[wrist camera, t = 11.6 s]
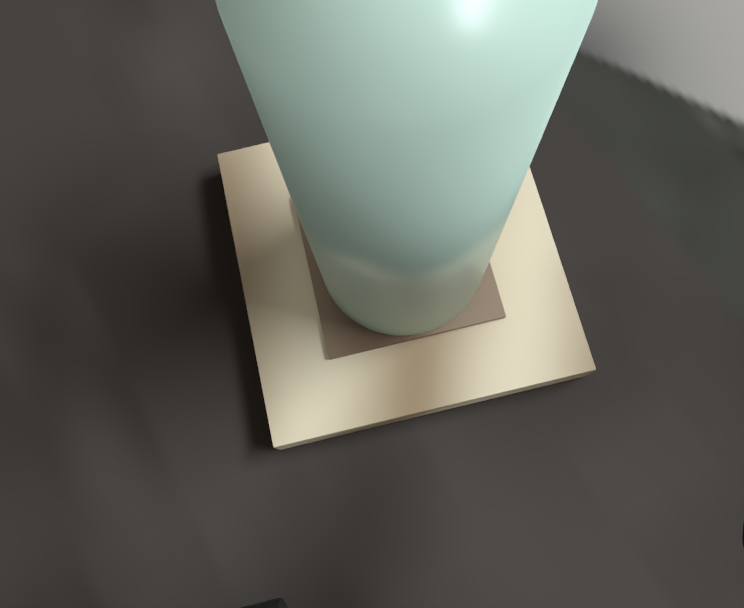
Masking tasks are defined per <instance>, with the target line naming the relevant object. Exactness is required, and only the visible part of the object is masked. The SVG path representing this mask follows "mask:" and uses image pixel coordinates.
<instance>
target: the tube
mask: <svg viewBox="0 0 744 608" xmlns="http://www.w3.org/2000/svg"><path fill="white" fill-rule="evenodd" d="M215 1H216V4H217V8H218V11H219V14H220V17H221V20H222V22H223V25H224V27H225V30H226V32H227V35H228V37H229V40H230V43H231V45H232V48H233V50H234V53H235V55H236V58H237V61H238V63H239V66H240V68H241V71H242V73H243V76H244V78H245V81H246V84H247V86H248V89H249V91H250V94H251V96H252V99H253V101H254V104H255V107H256V109H257V112H258V114H259V117H260V119H261V122H262V124H263V127H264V130H265V132H266V135H267V137H268V140H269V142H270V145H271V148H272V150H273V153H274V155H275V158H276V160H277V163H278V165H279V168H280V171H281V173H282V176H283V178H284V181H285V183H286V186H287V188H288V191H289V194H290V196H291V199H292V201H293V204H294V206H295V209H296V212H297V214H298V217H299V219H300V222H301V224H302V227H303V229H304V232H305V235H306V237H307V240H308V242H309V245H310V247H311V250H312V252H313V255H314V258H315V260H316V263H317V265H318V268H319V270H320V273H321V276H322V278H323V281H324V283H325V286H326V288H327V290H328V292H329V294H330V296H331V297H332V299H333V300H334V302H335V303H336V305H337V306H338V307H339V308H340V309H341V310H342V312H344V313H345V314H346V315H347V316H348V317H349V318H350V319H352V320H353V321H355V322H356V323H358V324H359V325H361V326H363V327H365V328H367V329H369V330H372V331H375V332H378V333H382V334H386V335H393V336H412V335H418V334H423V333H426V332H430V331H433V330H435V329H437V328H439V327H442V326H444V325H445V324H447V323H448V322H450V321H451V320H453V319H454V318H455V317H456V316H458V315H459V314H460V313H461V312H462V311H463V310H464V309H465V308H466V307H467V306H468V304H469V303H470V301H471V300H472V298H473V297H474V295H475V293H476V291H477V289H478V287H479V285H480V283H481V280H482V278H483V276H484V273H485V271H486V268H487V266H488V264H489V261H490V259H491V257H492V254H493V252H494V249H495V247H496V245H497V242H498V240H499V237H500V235H501V233H502V230H503V228H504V226H505V223H506V221H507V218H508V216H509V214H510V211H511V209H512V206H513V204H514V202H515V199H516V197H517V195H518V192H519V190H520V187H521V185H522V183H523V180H524V178H525V175H526V173H527V171H528V168H529V166H530V164H531V161H532V159H533V156H534V154H535V152H536V149H537V147H538V145H539V142H540V140H541V137H542V135H543V133H544V130H545V128H546V125H547V123H548V121H549V118H550V116H551V114H552V111H553V109H554V106H555V104H556V102H557V99H558V97H559V94H560V92H561V90H562V87H563V85H564V83H565V80H566V78H567V75H568V73H569V71H570V68H571V66H572V63H573V61H574V59H575V56H576V54H577V52H578V49H579V47H580V44H581V42H582V39H583V37H584V35H585V32H586V30H587V28H588V25H589V23H590V21H591V18H592V16H593V13H594V11H595V8H596V5H597V1H598V0H215Z"/></svg>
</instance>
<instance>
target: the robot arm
mask: <svg viewBox="0 0 744 608" xmlns="http://www.w3.org/2000/svg"><path fill="white" fill-rule="evenodd" d="M743 546H744V525H743ZM242 608H287V605H286V603H285V601H284V599H283V598H277V599H273V600H269V601H265V602H261V603H257V604H254V605H250V606H246V607H242Z"/></svg>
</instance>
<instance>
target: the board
mask: <svg viewBox="0 0 744 608" xmlns="http://www.w3.org/2000/svg"><path fill="white" fill-rule="evenodd" d="M217 155H218V160H219V165H220V170H221V176H222V181H223V186H224V191H225V197H226V202H227V207H228V212H229V218H230V223H231V228H232V233H233V238H234V244H235V249H236V254H237V259H238V265H239V270H240V275H241V280H242V286H243V291H244V296H245V301H246V306H247V312H248V317H249V322H250V327H251V333H252V338H253V343H254V348H255V353H256V359H257V364H258V369H259V374H260V380H261V385H262V390H263V395H264V401H265V406H266V411H267V416H268V421H269V427H270V432H271V437H272V442H273V448H276V449H279V450H282V449H286V448H290V447H294V446H298V445H302V444H307V443H311V442H315V441H319V440H323V439H327V438H331V437H336V436H340V435H344V434H348V433H352V432H356V431H360V430H365V429H369V428H373V427H377V426H381V425H385V424H389V423H393V422H398V421H402V420H406V419H410V418H414V417H418V416H422V415H427V414H431V413H435V412H439V411H443V410H447V409H451V408H455V407H460V406H464V405H468V404H472V403H476V402H480V401H484V400H489V399H493V398H497V397H501V396H505V395H509V394H513V393H518V392H522V391H526V390H530V389H534V388H538V387H542V386H546V385H551V384H555V383H559V382H563V381H567V380H571V379H575V378H580V377H584V376H587V375H588V374H590V373H591V372H593V371H595V370H596V368H595V365H594V362H593V359H592V356H591V353H590V350H589V346H588V343H587V340H586V337H585V334H584V331H583V328H582V325H581V322H580V319H579V316H578V313H577V310H576V307H575V304H574V301H573V298H572V295H571V292H570V289H569V286H568V282H567V279H566V276H565V273H564V270H563V267H562V264H561V261H560V258H559V255H558V252H557V249H556V246H555V243H554V240H553V237H552V234H551V231H550V228H549V225H548V222H547V219H546V215H545V212H544V209H543V206H542V203H541V200H540V197H539V194H538V191H537V188H536V185H535V182H534V179H533V176H532V173H531V170H530V167H529V168H528V171H527V173H526V175H525V178H524V180H523V183H522V185H521V187H520V190H519V192H518V195H517V197H516V199H515V202H514V204H513V206H512V209H511V211H510V214H509V216H508V218H507V221H506V223H505V226H504V228H503V230H502V233H501V235H500V237H499V240H498V242H497V245H496V247H495V249H494V252H493V254H492V257H491V259H490V261H489V264H488V266H487V268H486V271H485V273H484V276H483V278H482V280H481V283H480V285H479V287H478V289H477V291H476V293H475V295H474V297H473V298H472V300H471V301H470V303H469V304H468V306H467V307H466V308H465V309H464V310H463V311H462V312H461V313H460V314H459V315H458V316H456V317H455V318H454V319H453V320H451V321H450V322H448V323H447V324H445V325H444V326H442V327H439V328H437V329H435V330H433V331H430V332H426V333H423V334H418V335H412V336H393V335H386V334H382V333H378V332H375V331H372V330H369V329H367V328H365V327H363V326H361V325H359V324H358V323H356V322H355V321H353V320H352V319H350V318H349V317H348V316H347V315H346V314H345V313H344V312H342V310H341V309H340V308H339V307H338V306H337V305H336V303H335V302H334V300H333V299H332V297H331V296H330V294H329V292H328V290H327V288H326V286H325V283H324V281H323V278H322V276H321V273H320V270H319V268H318V265H317V263H316V260H315V258H314V255H313V252H312V250H311V247H310V245H309V242H308V240H307V237H306V235H305V232H304V229H303V227H302V224H301V222H300V219H299V217H298V214H297V212H296V209H295V206H294V204H293V201H292V199H291V196H290V194H289V191H288V188H287V186H286V183H285V181H284V178H283V176H282V173H281V171H280V168H279V165H278V163H277V160H276V158H275V155H274V153H273V150H272V148H271V145H270V142H269V143H264V144H260V145H256V146H252V147H247V148H243V149H239V150H234V151H230V152H226V153H221V154H217Z"/></svg>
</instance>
